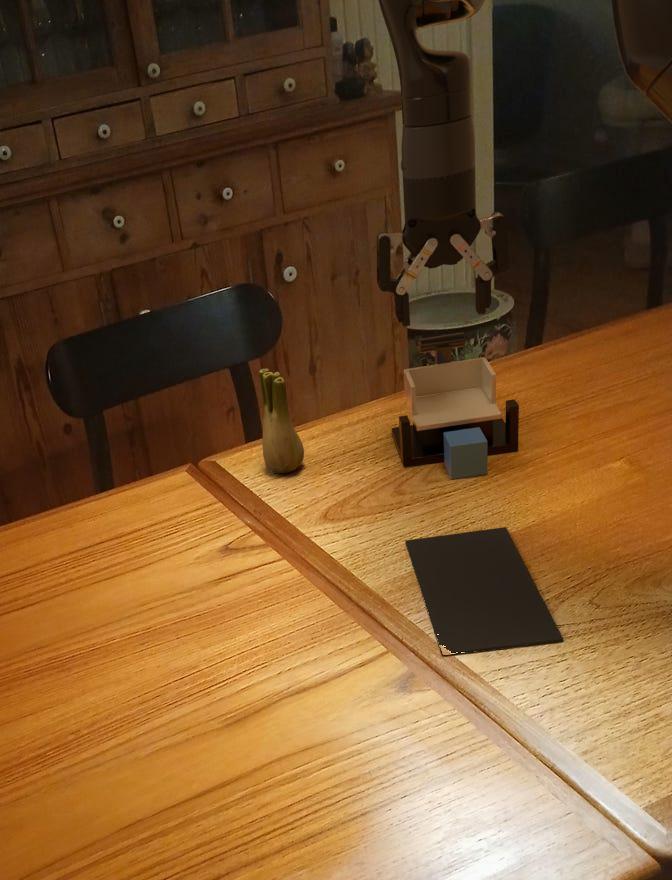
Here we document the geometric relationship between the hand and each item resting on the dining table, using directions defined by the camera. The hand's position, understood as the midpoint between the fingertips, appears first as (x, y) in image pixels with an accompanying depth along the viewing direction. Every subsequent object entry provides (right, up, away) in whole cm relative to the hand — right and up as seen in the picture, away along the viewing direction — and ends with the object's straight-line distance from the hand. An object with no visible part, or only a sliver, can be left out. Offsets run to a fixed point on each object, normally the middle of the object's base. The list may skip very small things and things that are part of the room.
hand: (443, 318), depth 114 cm
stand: (+2, -14, +3) cm, 14 cm away
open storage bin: (+1, -10, +2) cm, 10 cm away
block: (+2, -15, -2) cm, 15 cm away
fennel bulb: (-18, -16, +6) cm, 25 cm away
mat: (-3, -32, -23) cm, 40 cm away
